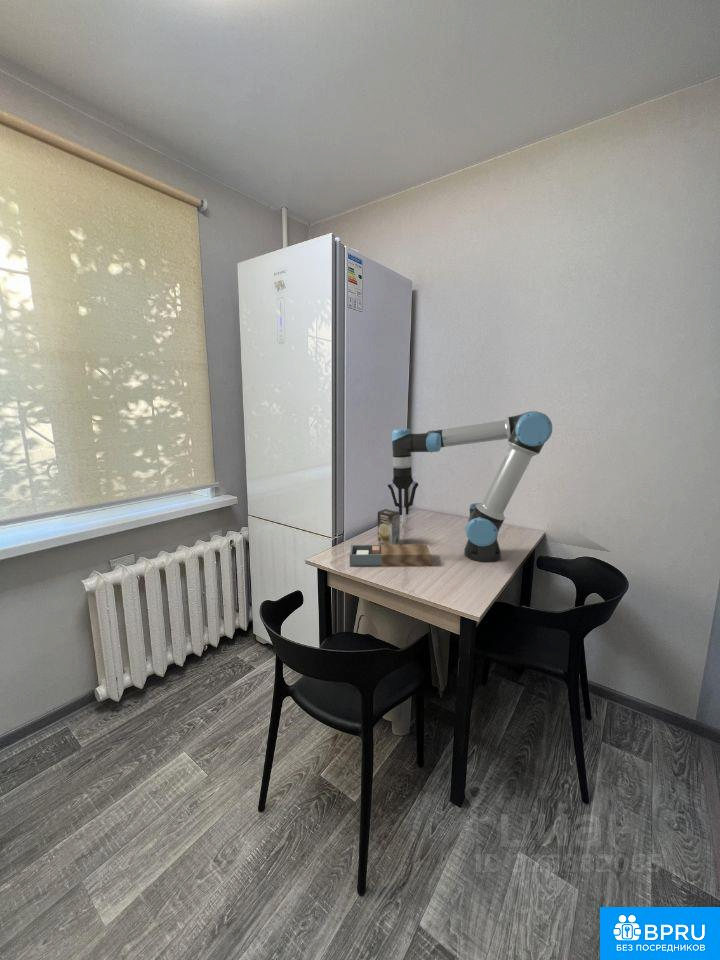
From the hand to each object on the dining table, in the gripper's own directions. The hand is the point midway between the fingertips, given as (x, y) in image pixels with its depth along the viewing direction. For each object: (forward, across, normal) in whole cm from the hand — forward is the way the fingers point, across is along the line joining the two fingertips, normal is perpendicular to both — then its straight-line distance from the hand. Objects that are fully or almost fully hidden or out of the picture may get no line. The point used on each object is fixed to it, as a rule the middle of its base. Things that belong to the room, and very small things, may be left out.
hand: (404, 521), depth 162 cm
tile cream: (+12, +18, +2) cm, 22 cm away
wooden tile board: (+16, 0, +2) cm, 17 cm away
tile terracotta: (+13, +11, +2) cm, 17 cm away
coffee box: (+16, +6, -18) cm, 25 cm away
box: (+16, +17, +2) cm, 23 cm away
